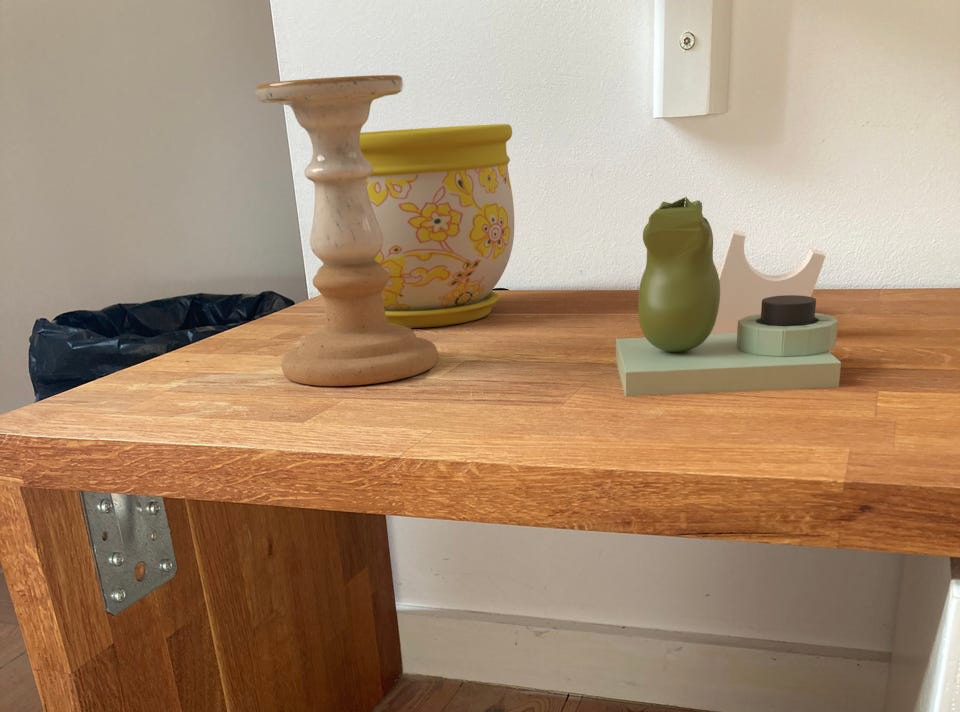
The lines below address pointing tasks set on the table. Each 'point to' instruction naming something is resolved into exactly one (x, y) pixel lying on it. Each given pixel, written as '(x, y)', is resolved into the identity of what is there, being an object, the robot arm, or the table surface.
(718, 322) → the bracket
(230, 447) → the table surface
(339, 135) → the candle holder
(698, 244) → the olive green rounded piece
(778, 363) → the green base plate
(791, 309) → the button
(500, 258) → the flowerpot
